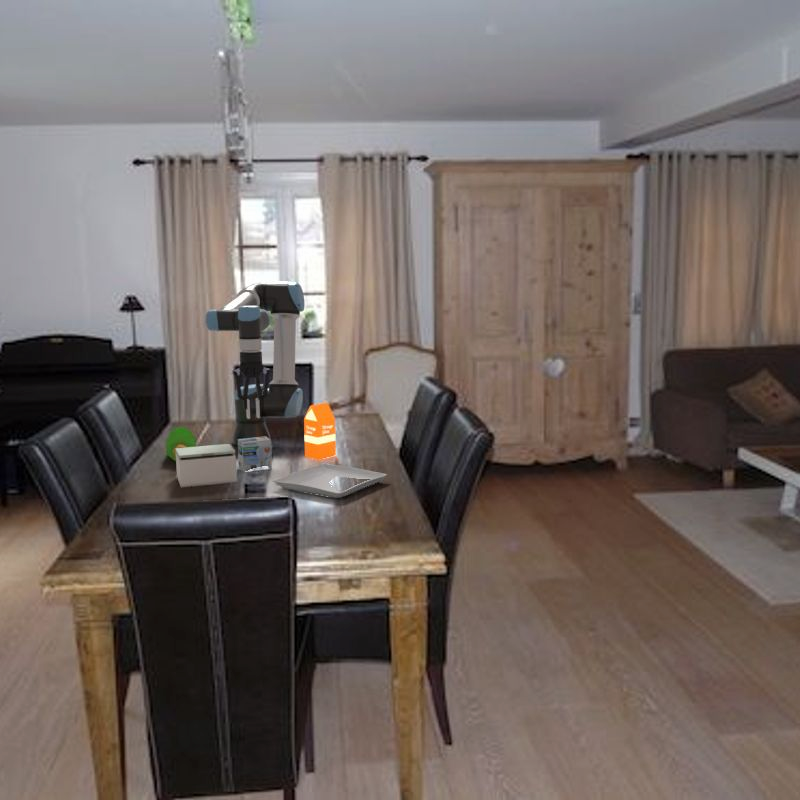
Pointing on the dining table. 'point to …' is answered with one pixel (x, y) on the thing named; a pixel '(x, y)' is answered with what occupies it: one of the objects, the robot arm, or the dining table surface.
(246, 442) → the light bulb box
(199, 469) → the beige box
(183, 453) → the box lid
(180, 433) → the decorative tree
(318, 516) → the dining table surface
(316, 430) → the orange juice
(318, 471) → the square plate
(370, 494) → the dining table surface
